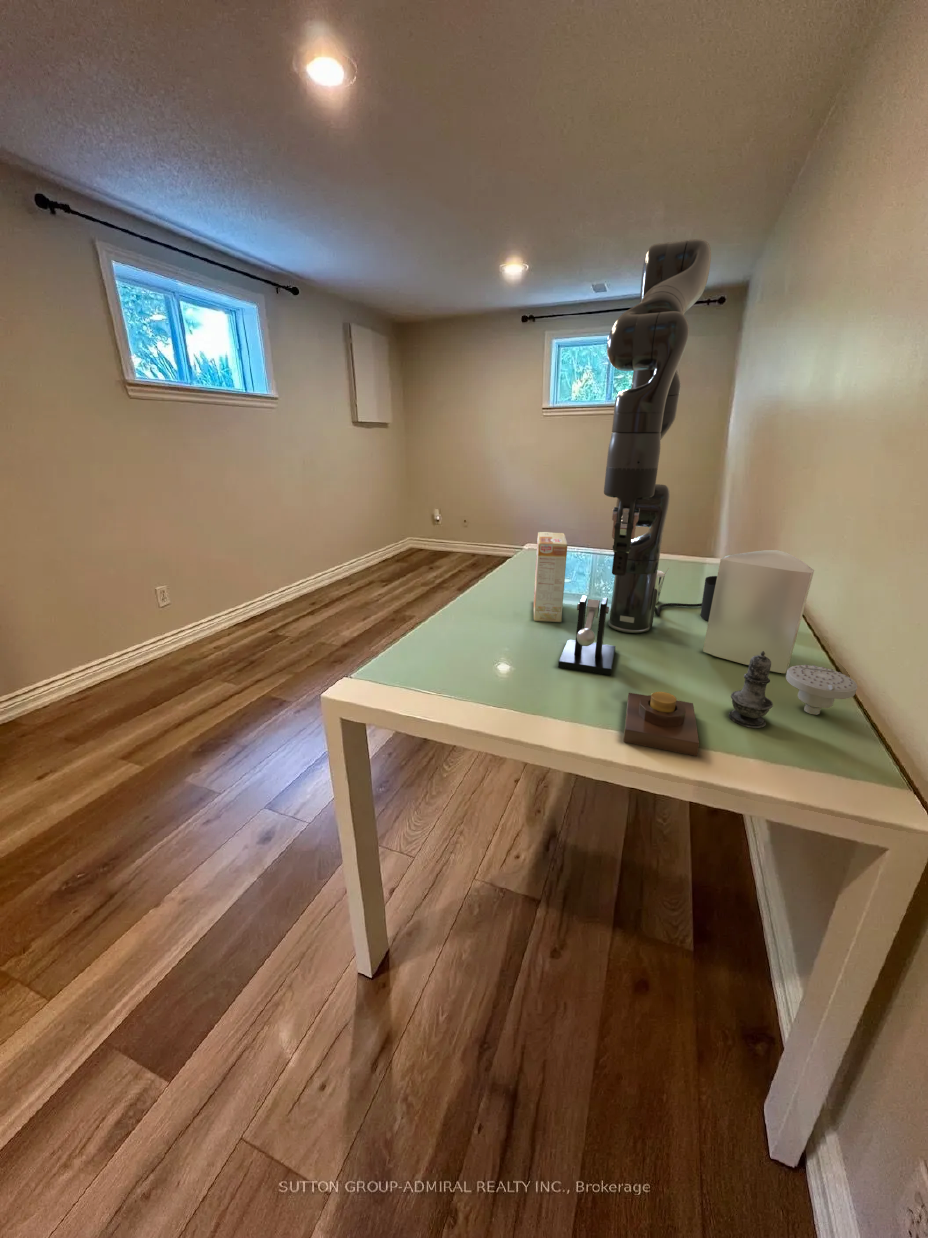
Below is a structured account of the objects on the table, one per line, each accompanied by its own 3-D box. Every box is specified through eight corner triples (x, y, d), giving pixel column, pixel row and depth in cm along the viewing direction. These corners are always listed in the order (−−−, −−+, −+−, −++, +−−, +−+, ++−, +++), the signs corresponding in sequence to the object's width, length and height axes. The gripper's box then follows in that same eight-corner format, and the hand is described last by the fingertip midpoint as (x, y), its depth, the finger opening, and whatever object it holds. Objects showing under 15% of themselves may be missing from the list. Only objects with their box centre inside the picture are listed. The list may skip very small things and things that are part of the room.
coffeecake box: (533, 602, 135) (537, 531, 128) (559, 603, 134) (565, 532, 127) (532, 621, 121) (537, 542, 114) (561, 622, 120) (568, 543, 113)
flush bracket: (610, 675, 93) (618, 612, 89) (558, 667, 96) (563, 605, 92) (614, 651, 104) (622, 594, 99) (567, 645, 107) (572, 588, 102)
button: (649, 699, 77) (651, 689, 77) (674, 703, 76) (676, 693, 76) (649, 710, 74) (651, 700, 73) (675, 715, 73) (677, 705, 72)
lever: (593, 650, 88) (594, 636, 86) (574, 648, 89) (575, 633, 87) (601, 612, 98) (602, 598, 96) (585, 610, 99) (586, 596, 97)
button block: (627, 703, 83) (630, 682, 82) (690, 714, 80) (695, 693, 79) (623, 741, 73) (626, 718, 71) (696, 756, 69) (701, 732, 68)
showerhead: (798, 681, 76) (782, 656, 85) (787, 722, 78) (772, 693, 87) (871, 691, 73) (846, 664, 82) (857, 733, 75) (835, 702, 84)
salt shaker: (719, 710, 81) (733, 643, 77) (752, 709, 82) (768, 643, 78) (740, 729, 76) (757, 659, 72) (776, 728, 76) (795, 658, 72)
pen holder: (741, 617, 125) (749, 579, 121) (738, 628, 117) (746, 588, 114) (701, 610, 130) (708, 574, 126) (695, 620, 122) (702, 582, 119)
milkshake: (665, 605, 133) (670, 569, 130) (644, 604, 134) (649, 568, 131) (662, 600, 138) (667, 565, 134) (642, 599, 139) (647, 564, 135)
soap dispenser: (700, 654, 103) (720, 551, 95) (722, 636, 113) (741, 541, 105) (783, 677, 93) (813, 564, 86) (798, 655, 103) (826, 552, 96)
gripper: (659, 468, 68) (642, 587, 74) (657, 462, 79) (642, 566, 86) (603, 466, 70) (591, 582, 76) (609, 461, 82) (598, 562, 88)
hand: (618, 574), depth 81 cm, fingers closed
